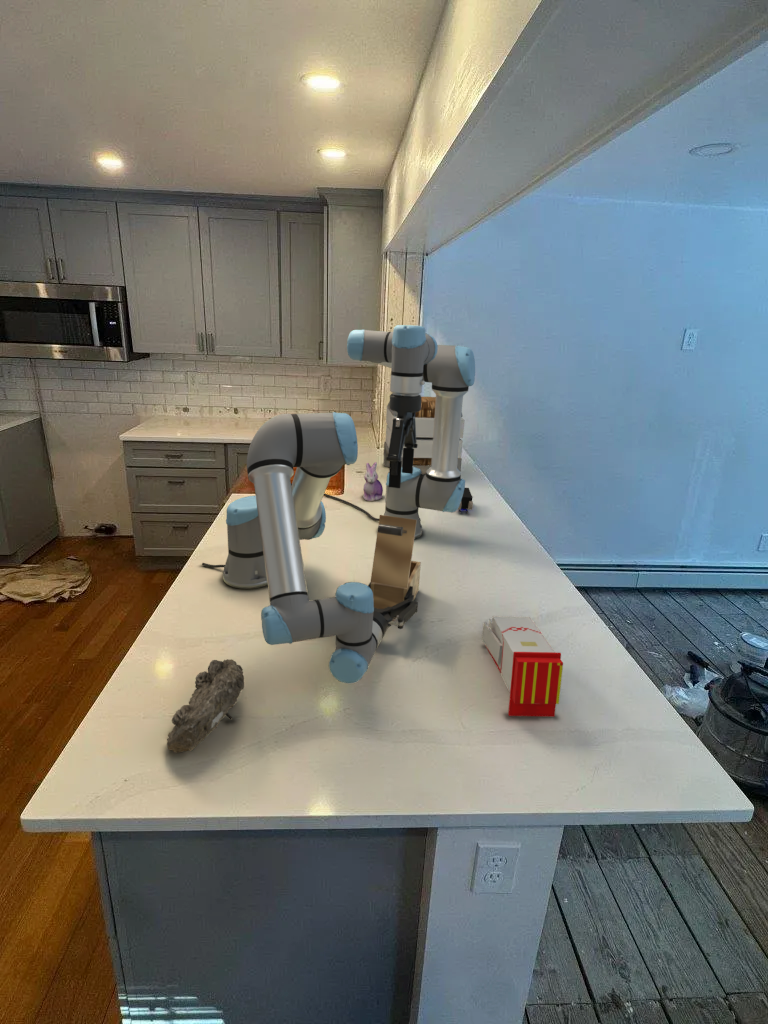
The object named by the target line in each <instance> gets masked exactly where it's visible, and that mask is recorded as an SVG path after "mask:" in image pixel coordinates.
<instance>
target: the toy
mask: <svg viewBox="0 0 768 1024" xmlns="http://www.w3.org/2000/svg"><path fill="white" fill-rule="evenodd" d="M481 632H482V633H481V640H482V642H483V644H484V646H485V648H486V650H487V652H488V654H489V655H490V657H491V659H492V661H493V663H494V664H495V666H496V668H497V670H498V671H499V674H500V676H501V678H502V680H503V682H504V684H505V687H506V688H507V690H508V692H509V700H508V702H509V703H508V710H507V711H508V712H507V715H508V717H551V718H552V717H553V718H555V716H556V707H557V705H559V704H560V698H561V697H560V695H561V688H562V687H561V686H562V678H563V669H564V662H563V661H562V653H561V652H556V651H555V649H554V648H553V647H552V645H551V644H550V643H549V641H548V639H547V638H546V637H545V635H544V634H543V633H542V631H541V630H540V629H539V628H538V626H537V624H536V622H535V621H534V620H533V619H532V617H531V616H514V615H513V616H512V615H511V616H508V615H507V616H506V615H505V616H504V615H492V618H489V620H488V623H487V621H483V623H482V631H481Z"/></svg>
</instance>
